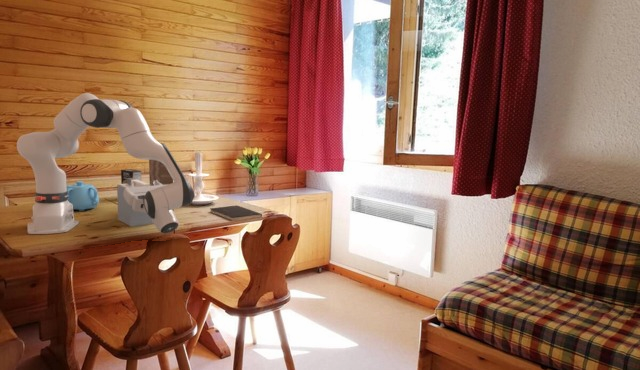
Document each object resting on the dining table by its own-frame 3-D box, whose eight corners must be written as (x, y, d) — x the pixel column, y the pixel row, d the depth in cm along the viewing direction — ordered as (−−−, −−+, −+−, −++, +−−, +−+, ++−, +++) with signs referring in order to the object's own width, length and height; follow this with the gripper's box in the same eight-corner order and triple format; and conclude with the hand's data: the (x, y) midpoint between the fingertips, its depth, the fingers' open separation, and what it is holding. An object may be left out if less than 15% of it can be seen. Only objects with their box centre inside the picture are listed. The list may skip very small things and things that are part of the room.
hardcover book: (232, 222, 216) (232, 217, 216) (209, 212, 234) (209, 208, 233) (262, 218, 226) (262, 213, 226) (238, 209, 244) (238, 205, 243)
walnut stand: (173, 212, 228) (172, 159, 224) (161, 214, 224) (160, 160, 220) (161, 207, 239) (160, 156, 235) (150, 209, 235) (149, 157, 231)
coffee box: (121, 199, 258) (120, 169, 255) (130, 197, 264) (130, 168, 261) (132, 200, 254) (132, 171, 251) (142, 199, 259) (141, 170, 257)
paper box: (154, 223, 206) (153, 187, 203) (130, 226, 199) (129, 189, 197) (140, 216, 218) (139, 182, 215) (118, 219, 211) (117, 184, 209)
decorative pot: (60, 213, 220) (58, 184, 217) (63, 206, 234) (61, 179, 232) (98, 211, 226) (97, 183, 224) (99, 204, 241) (98, 178, 239)
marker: (150, 190, 197) (150, 184, 196) (144, 190, 195) (144, 184, 194) (133, 183, 211) (132, 178, 211) (127, 184, 210) (127, 178, 209)
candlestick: (196, 197, 270) (196, 148, 266) (226, 203, 256) (226, 152, 251) (166, 202, 254) (165, 150, 250) (196, 208, 239) (195, 154, 235)
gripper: (181, 194, 195) (169, 174, 203) (131, 199, 182) (120, 177, 190) (178, 206, 199) (166, 186, 206) (129, 211, 185) (118, 189, 193)
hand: (143, 182), depth 198 cm, fingers open, 8 cm apart
